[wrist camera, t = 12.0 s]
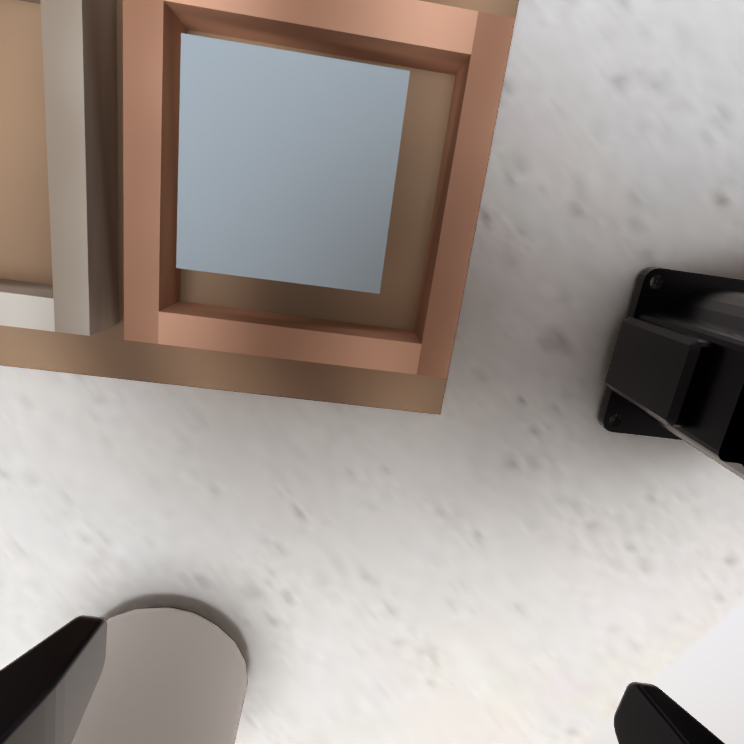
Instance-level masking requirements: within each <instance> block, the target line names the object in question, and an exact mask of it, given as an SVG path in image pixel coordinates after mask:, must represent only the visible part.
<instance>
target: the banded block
mask: <svg viewBox="0 0 744 744" xmlns="http://www.w3.org/2000/svg"><path fill="white" fill-rule="evenodd" d="M409 76H410V71H407V70H401V69H395V68H389V67H383V66H377V65H371V64H365V63H359V62H353V61H347V60H341V59H335V58H329V57H323V56H317V55H311V54H305V53H299V52H293V51H287V50H281V49H275V48H269V47H263V46H257V45H251V44H245V43H239V42H233V41H227V40H221V39H215V38H209V37H203V36H197V35H191V34H185V33H181V60H180V108H179V156H178V204H177V251H176V268H181V269H188V270H196V271H204V272H212V273H220V274H228V275H236V276H243V277H251V278H259V279H267V280H275V281H283V282H291V283H298V284H306V285H314V286H322V287H330V288H338V289H346V290H353V291H361V292H369V293H377V294H380V287H381V280H382V273H383V265H384V258H385V251H386V243H387V236H388V229H389V222H390V214H391V207H392V200H393V192H394V185H395V178H396V171H397V163H398V156H399V149H400V141H401V134H402V127H403V119H404V112H405V105H406V98H407V90H408V83H409Z"/></svg>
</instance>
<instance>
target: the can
mask: <svg viewBox="0 0 744 744" xmlns="http://www.w3.org/2000/svg"><path fill="white" fill-rule="evenodd" d="M106 621H107V642H106V658H105V663H104V667H103V670H102V673H101V676H100V678H99V680H98V683H97V685H96V687H95V690H94V692H93V694H92V697H91V699H90V701H89V704H88V706H87V708H86V711H85V713H84V715H83V718H82V720H81V722H80V725H79V727H78V729H77V732H76V734H75V736H74V739H73V741H72V743H71V744H235V739H236V734H237V730H238V725H239V720H240V716H241V711H242V706H243V702H244V697H245V692H246V688H247V683H248V681H247V672H246V662H245V660H244V658H243V656H242V655H241V653H240V651H239V649H238V647H237V645H236V643H235V642H234V641H233V640H232V639H231V638H230V637H229V636H228V635H227V634H225V633H224V632H223V631H222V630H221V629H220V628H219V627H218V626H217V625H215V624H213V623H212V622H211V621H209V620H207V619H205V618H203V617H201V616H199V615H197V614H195V613H193V612H190V611H185V610H181V609H176V608H145V609H135V610H132V611H128V612H125V613H122V614H119V615H116V616H113V617H110V618H109V619H108V620H106Z"/></svg>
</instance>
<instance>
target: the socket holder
mask: <svg viewBox="0 0 744 744" xmlns="http://www.w3.org/2000/svg"><path fill="white" fill-rule="evenodd" d="M518 2H519V0H0V365H2V366H11V367H20V368H29V369H38V370H47V371H56V372H65V373H74V374H82V375H91V376H100V377H109V378H118V379H127V380H136V381H145V382H154V383H163V384H172V385H181V386H189V387H198V388H207V389H216V390H225V391H234V392H243V393H252V394H261V395H270V396H279V397H288V398H297V399H305V400H314V401H323V402H332V403H341V404H350V405H359V406H368V407H377V408H386V409H395V410H404V411H412V412H421V413H430V414H439V415H440V414H441V409H442V403H443V398H444V393H445V388H446V382H447V377H448V372H449V366H450V361H451V356H452V351H453V345H454V340H455V335H456V329H457V324H458V319H459V314H460V308H461V303H462V298H463V293H464V287H465V282H466V277H467V271H468V266H469V261H470V256H471V250H472V245H473V240H474V234H475V229H476V224H477V219H478V213H479V208H480V203H481V197H482V192H483V187H484V182H485V176H486V171H487V166H488V160H489V155H490V150H491V145H492V139H493V134H494V129H495V123H496V118H497V113H498V108H499V102H500V97H501V92H502V86H503V81H504V76H505V71H506V65H507V60H508V55H509V49H510V44H511V39H512V34H513V28H514V23H515V18H516V12H517V7H518ZM181 33H185V34H191V35H197V36H203V37H209V38H215V39H221V40H227V41H233V42H239V43H245V44H251V45H257V46H263V47H269V48H275V49H281V50H287V51H293V52H299V53H305V54H311V55H317V56H323V57H329V58H335V59H341V60H347V61H353V62H359V63H365V64H371V65H377V66H383V67H389V68H395V69H401V70H407V71H410V76H409V83H408V90H407V98H406V105H405V112H404V119H403V127H402V134H401V141H400V149H399V156H398V163H397V171H396V178H395V185H394V192H393V200H392V207H391V214H390V222H389V229H388V236H387V243H386V251H385V258H384V265H383V273H382V280H381V287H380V294H377V293H369V292H361V291H353V290H346V289H338V288H330V287H322V286H314V285H306V284H298V283H291V282H283V281H275V280H267V279H259V278H251V277H243V276H236V275H228V274H220V273H212V272H204V271H196V270H188V269H181V268H176V251H177V204H178V156H179V108H180V60H181Z"/></svg>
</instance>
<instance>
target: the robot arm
mask: <svg viewBox="0 0 744 744" xmlns="http://www.w3.org/2000/svg"><path fill="white" fill-rule="evenodd" d="M654 276H656V277H657V282H656V284H655V285H654V286H653V287H651V286H650V280H651V278H652V277H654ZM606 383H607V388H606V391H605V395H604V398H603V402H602V405H601V409H600V412H599V418H598V420H599V423H600V424H601V425H602V426H603V427H604V428H605V429H607V430H608V431H611V432H618V433H627V434H635V435H644V436H653V437H662V438H671V439H680V440H684V441H685V442H687V443H689V444H690V445H692V446H693V447H695V448H696V449H698V450H699V451H701V452H702V453H704V454H705V455H707V456H708V457H710V458H712V459H713V460H715V461H716V462H718V463H719V464H721V465H722V466H724V467H725V468H727V469H728V470H730V471H731V472H733V473H735V474H736V475H738V476H739V477H741V478H742V479H744V280H739V279H732V278H725V277H718V276H711V275H704V274H697V273H690V272H683V271H676V270H669V269H662V268H655V267H653V268H647V269H645V270H644V271H643V272H642V273H641V274H640V275H639V277H638V280H637V283H636V287H635V290H634V294H633V297H632V301H631V304H630V308H629V311H628V315H627V318H626V320H625V321H624V322H623V323H622V325H621V329H620V332H619V336H618V339H617V343H616V346H615V350H614V353H613V357H612V360H611V364H610V367H609V371H608V374H607V378H606ZM616 414H617V416H616V419H615V420H614V421H613V422H609V419H610V418H611V416H613V415H616ZM106 642H107V621H106V619H104V618H102V617H93V616H85V615H82V616H79V617H76V618H75V619H73V620H72V621H70V622H69V623H67V624H66V625H65V626H63V627H62V628H60V629H59V630H57V631H56V632H55V633H53V634H52V635H50V636H49V637H47V638H46V639H45V640H43V641H42V642H40V643H39V644H37V645H36V646H35V647H33V648H32V649H30V650H29V651H27V652H26V653H25V654H23V655H22V656H20V657H19V658H17V659H16V660H14V661H13V662H12V663H10V664H9V665H7V666H6V667H4V668H3V669H2V670H0V744H71V743H72V741H73V739H74V736H75V734H76V732H77V729H78V727H79V725H80V722H81V720H82V718H83V715H84V713H85V711H86V708H87V706H88V704H89V701H90V699H91V697H92V694H93V692H94V690H95V687H96V685H97V683H98V680H99V678H100V676H101V673H102V670H103V667H104V663H105V658H106ZM614 728H615V733H616V736H617V739H618V742H619V744H724V743H723V742H722V741H721V740H720V739H718V738H717V737H716V736H715V735H714V734H713V733H711V732H710V731H709V730H708V729H707V728H706V727H704V726H703V725H702V724H701V723H700V722H698V721H697V720H696V719H695V718H694V717H692V716H691V715H690V714H689V713H688V712H687V711H685V710H684V709H683V708H682V707H681V706H679V705H678V704H677V703H676V702H675V701H674V700H672V699H671V698H670V697H669V696H668V695H666V694H665V693H664V692H663V691H662V690H660V689H659V688H658V687H656V686H654V685H652V684H646V683H638V682H632V683H630V684H629V685H628V686H627V688H626V690H625V692H624V695H623V697H622V699H621V702H620V704H619V706H618V708H617V711H616V713H615V716H614Z"/></svg>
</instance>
